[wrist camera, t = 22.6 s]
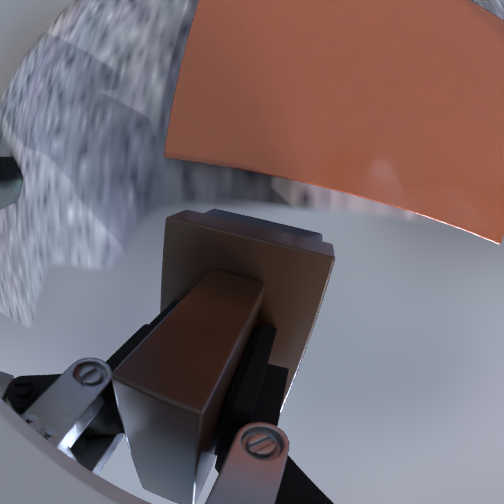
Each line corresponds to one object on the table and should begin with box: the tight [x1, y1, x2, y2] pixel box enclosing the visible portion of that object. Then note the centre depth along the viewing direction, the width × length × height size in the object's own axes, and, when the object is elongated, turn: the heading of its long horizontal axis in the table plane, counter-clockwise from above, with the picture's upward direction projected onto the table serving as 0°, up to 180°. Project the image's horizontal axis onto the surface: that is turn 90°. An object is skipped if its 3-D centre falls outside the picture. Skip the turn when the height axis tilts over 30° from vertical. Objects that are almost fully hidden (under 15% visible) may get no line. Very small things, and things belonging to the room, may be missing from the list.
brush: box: [111, 209, 335, 504], centre depth 9 cm, size 6×9×10 cm, turn 170°
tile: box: [164, 0, 504, 245], centre depth 9 cm, size 16×12×1 cm
